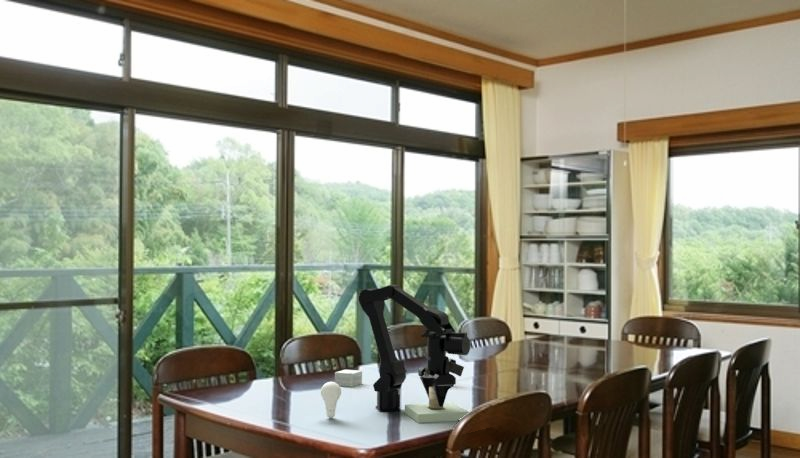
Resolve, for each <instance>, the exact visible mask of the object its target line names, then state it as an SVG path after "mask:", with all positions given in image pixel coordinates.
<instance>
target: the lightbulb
mask: <svg viewBox="0 0 800 458" xmlns="http://www.w3.org/2000/svg"><path fill="white" fill-rule="evenodd" d="M320 395H321V397H322V400H323V402H324V406H325V410H326V417H327V418H328V419H333V418H334V417H335V415H336V410H337V404H338V401H339V400H340V397H341V396H342V388H341V386H339V385H338V384H337V383H335V381H328V382H326V383H324V384H323V386H322V387H321V389H320Z"/></svg>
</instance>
